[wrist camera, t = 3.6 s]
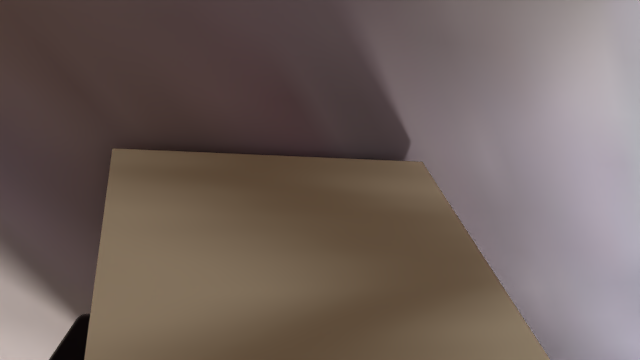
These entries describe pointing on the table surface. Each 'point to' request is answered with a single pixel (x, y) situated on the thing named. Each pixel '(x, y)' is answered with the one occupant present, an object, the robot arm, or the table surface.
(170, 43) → the table surface
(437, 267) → the birch block
